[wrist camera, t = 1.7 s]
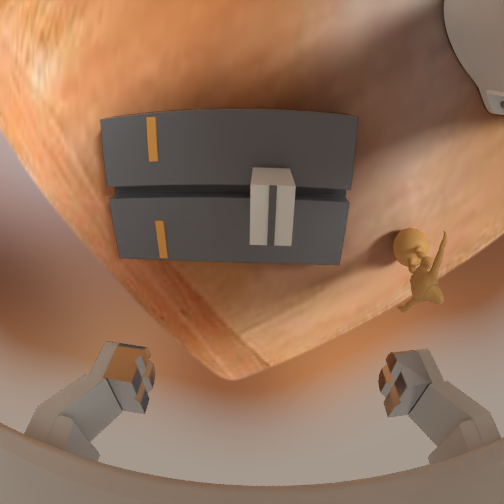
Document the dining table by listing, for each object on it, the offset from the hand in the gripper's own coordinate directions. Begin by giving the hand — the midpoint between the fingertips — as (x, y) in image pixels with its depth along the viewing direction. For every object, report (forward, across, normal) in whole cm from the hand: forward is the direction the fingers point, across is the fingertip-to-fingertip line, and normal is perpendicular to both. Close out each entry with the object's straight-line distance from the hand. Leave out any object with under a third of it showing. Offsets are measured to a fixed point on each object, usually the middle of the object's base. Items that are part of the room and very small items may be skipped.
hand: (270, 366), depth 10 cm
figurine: (+22, -15, +5) cm, 27 cm away
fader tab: (+20, 0, 0) cm, 20 cm away
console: (+22, +4, 0) cm, 22 cm away
